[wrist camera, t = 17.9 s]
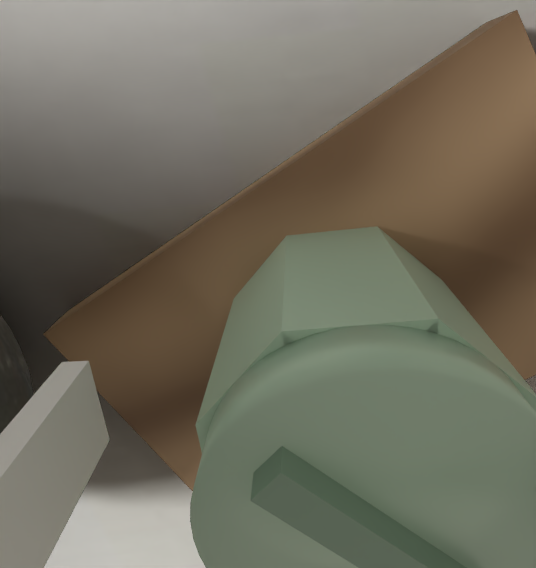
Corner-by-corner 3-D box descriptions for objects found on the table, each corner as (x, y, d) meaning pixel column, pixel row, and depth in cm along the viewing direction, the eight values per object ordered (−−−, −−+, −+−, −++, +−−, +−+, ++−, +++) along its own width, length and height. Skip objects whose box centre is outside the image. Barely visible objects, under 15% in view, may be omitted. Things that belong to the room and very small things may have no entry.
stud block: (68, 310, 18) (-70, 439, 11) (486, 22, 14) (686, -59, 7) (226, 484, 21) (194, 668, 14) (610, 298, 17) (831, 436, 10)
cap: (200, 338, 16) (108, 570, 8) (328, 185, 14) (375, 301, 6) (346, 439, 17) (389, 722, 10) (484, 315, 15) (695, 552, 7)
